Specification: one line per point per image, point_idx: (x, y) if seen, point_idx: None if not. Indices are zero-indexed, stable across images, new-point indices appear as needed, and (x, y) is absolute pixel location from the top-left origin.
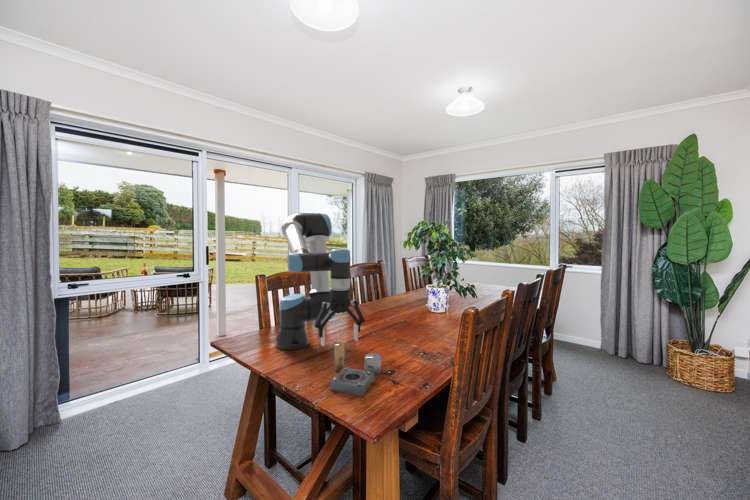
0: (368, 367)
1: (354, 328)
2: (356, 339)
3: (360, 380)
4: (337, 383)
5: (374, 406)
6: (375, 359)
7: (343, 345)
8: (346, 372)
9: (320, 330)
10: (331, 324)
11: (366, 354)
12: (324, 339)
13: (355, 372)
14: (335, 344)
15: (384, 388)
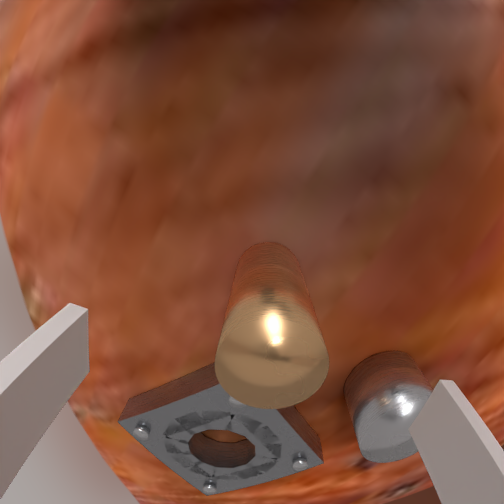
0: (351, 419)
1: (481, 479)
2: (415, 441)
3: (231, 476)
4: (142, 443)
5: (214, 499)
6: (379, 461)
7: (287, 405)
8: (220, 416)
9: None
10: None
11: (405, 406)
12: (54, 411)
13: (257, 435)
14: (230, 354)
15: (306, 473)
